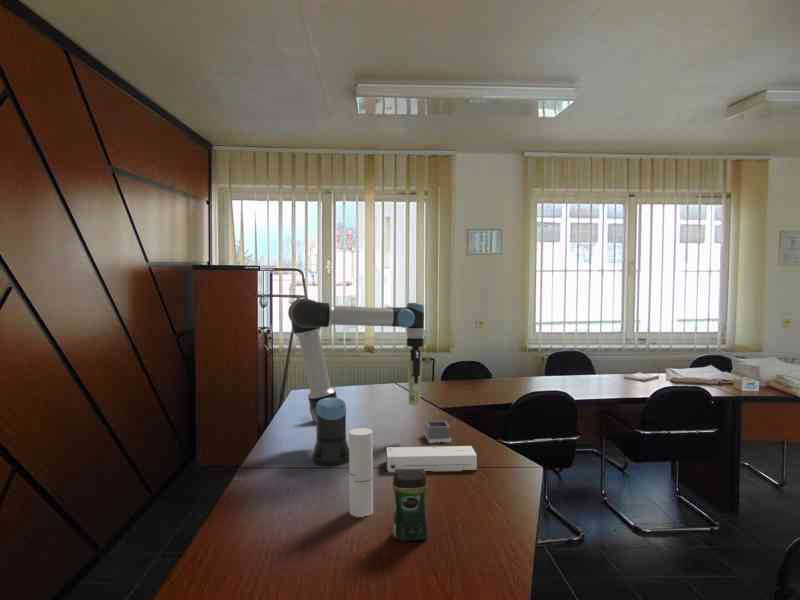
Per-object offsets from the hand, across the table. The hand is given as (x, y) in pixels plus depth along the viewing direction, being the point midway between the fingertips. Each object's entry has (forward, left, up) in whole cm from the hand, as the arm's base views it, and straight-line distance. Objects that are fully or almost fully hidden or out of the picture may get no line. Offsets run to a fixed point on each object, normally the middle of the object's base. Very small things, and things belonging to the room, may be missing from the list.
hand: (414, 389), depth 226 cm
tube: (0, 0, -7) cm, 7 cm away
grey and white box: (0, -10, -23) cm, 25 cm away
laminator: (-34, -1, -23) cm, 41 cm away
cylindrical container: (-69, +27, -23) cm, 77 cm away
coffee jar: (-85, +14, -23) cm, 89 cm away
